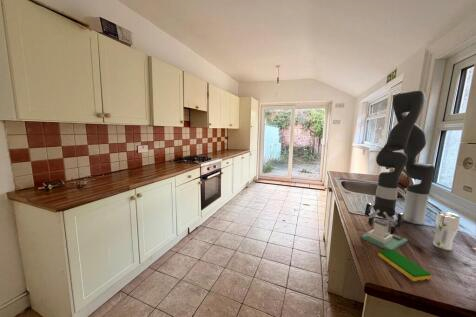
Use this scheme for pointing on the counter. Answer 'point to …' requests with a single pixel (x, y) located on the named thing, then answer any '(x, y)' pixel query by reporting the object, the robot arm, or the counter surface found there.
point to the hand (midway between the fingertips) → (381, 229)
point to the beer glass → (445, 230)
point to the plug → (381, 228)
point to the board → (385, 240)
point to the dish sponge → (404, 265)
